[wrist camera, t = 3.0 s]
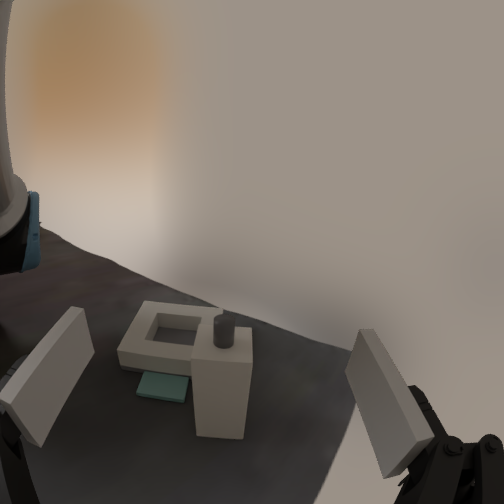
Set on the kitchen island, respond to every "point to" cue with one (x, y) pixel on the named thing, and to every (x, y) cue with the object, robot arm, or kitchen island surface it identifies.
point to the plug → (221, 378)
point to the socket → (163, 347)
